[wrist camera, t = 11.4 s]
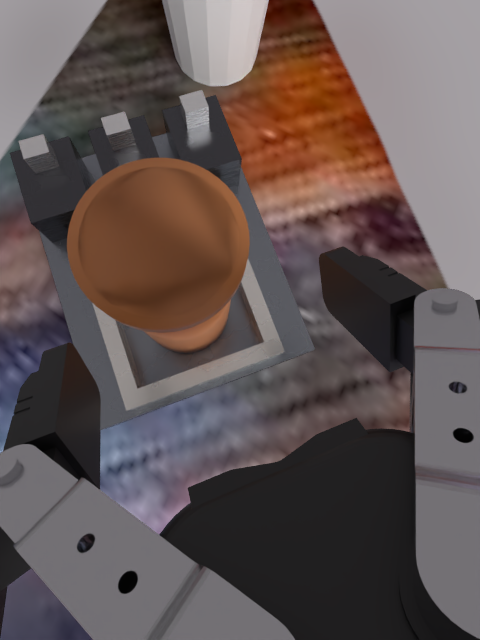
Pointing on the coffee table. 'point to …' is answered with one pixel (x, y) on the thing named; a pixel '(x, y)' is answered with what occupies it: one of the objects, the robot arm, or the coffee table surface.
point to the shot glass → (215, 37)
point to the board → (135, 345)
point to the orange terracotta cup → (161, 250)
